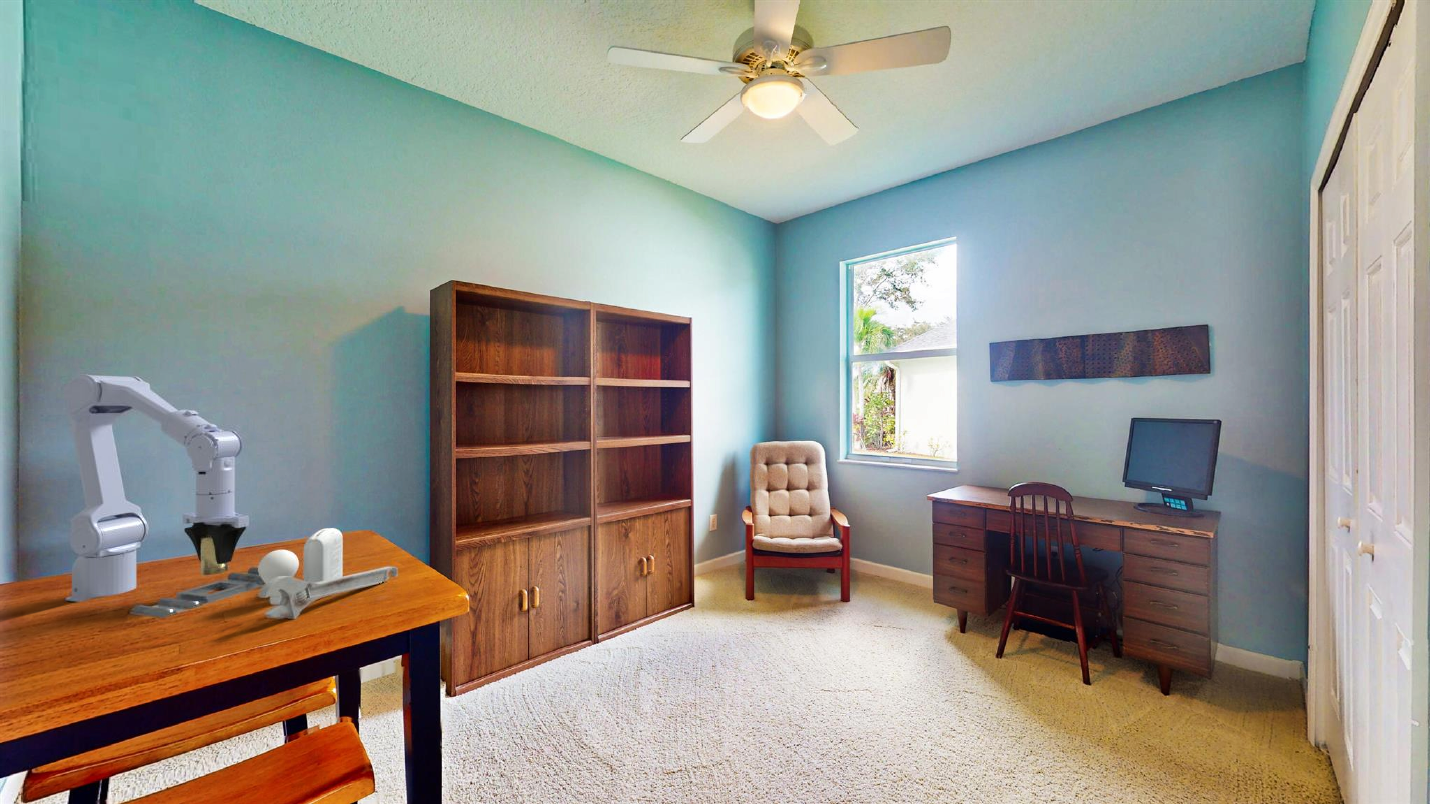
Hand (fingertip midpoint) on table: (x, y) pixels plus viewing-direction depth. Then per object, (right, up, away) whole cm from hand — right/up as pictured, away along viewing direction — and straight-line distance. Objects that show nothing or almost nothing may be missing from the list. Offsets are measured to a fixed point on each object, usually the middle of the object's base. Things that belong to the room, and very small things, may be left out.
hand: (215, 561), depth 111 cm
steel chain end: (-1, -8, -4) cm, 8 cm away
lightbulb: (+15, -8, -4) cm, 18 cm away
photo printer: (+16, -8, +7) cm, 19 cm away
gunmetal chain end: (+1, -8, +3) cm, 8 cm away
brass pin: (0, -2, 0) cm, 2 cm away
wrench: (+24, -8, 0) cm, 25 cm away
